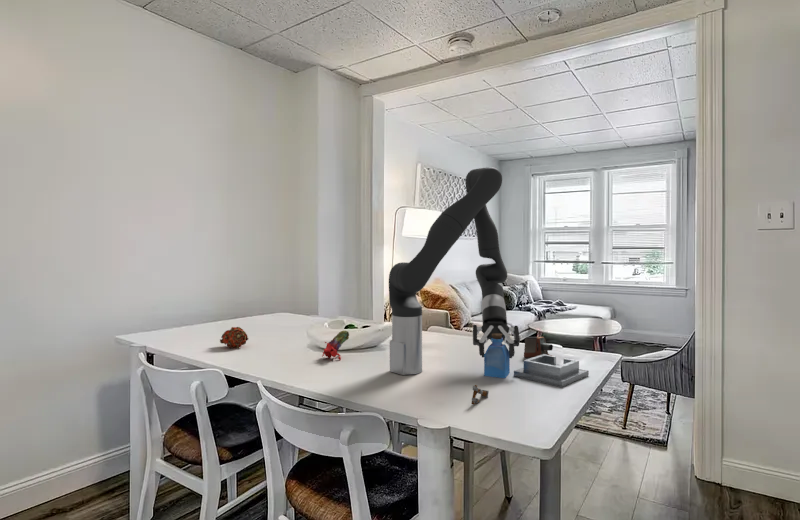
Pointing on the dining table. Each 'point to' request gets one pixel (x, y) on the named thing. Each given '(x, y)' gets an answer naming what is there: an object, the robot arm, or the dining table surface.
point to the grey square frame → (551, 370)
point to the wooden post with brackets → (482, 392)
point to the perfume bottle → (497, 358)
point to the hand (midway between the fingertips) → (497, 356)
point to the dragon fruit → (234, 337)
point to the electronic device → (536, 347)
